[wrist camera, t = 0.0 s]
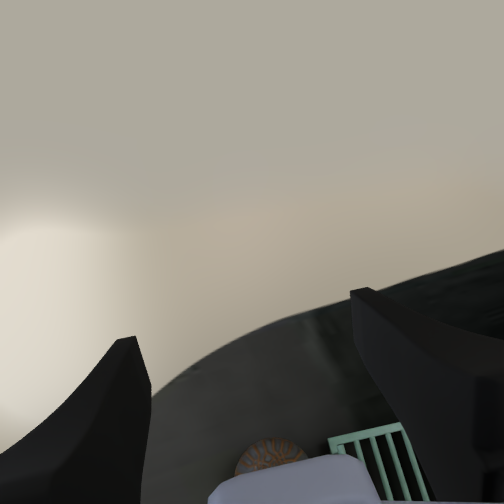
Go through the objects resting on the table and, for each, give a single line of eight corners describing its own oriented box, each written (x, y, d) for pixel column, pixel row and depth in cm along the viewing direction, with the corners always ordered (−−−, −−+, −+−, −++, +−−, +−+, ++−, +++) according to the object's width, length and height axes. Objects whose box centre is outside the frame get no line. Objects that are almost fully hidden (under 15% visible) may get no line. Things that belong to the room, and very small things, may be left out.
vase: (296, 429, 44) (301, 421, 36) (323, 507, 41) (336, 516, 33) (227, 454, 43) (218, 451, 35) (250, 535, 40) (246, 552, 32)
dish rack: (543, 517, 40) (589, 525, 34) (356, 562, 39) (371, 579, 33) (494, 401, 44) (528, 391, 38) (325, 439, 43) (333, 435, 38)
